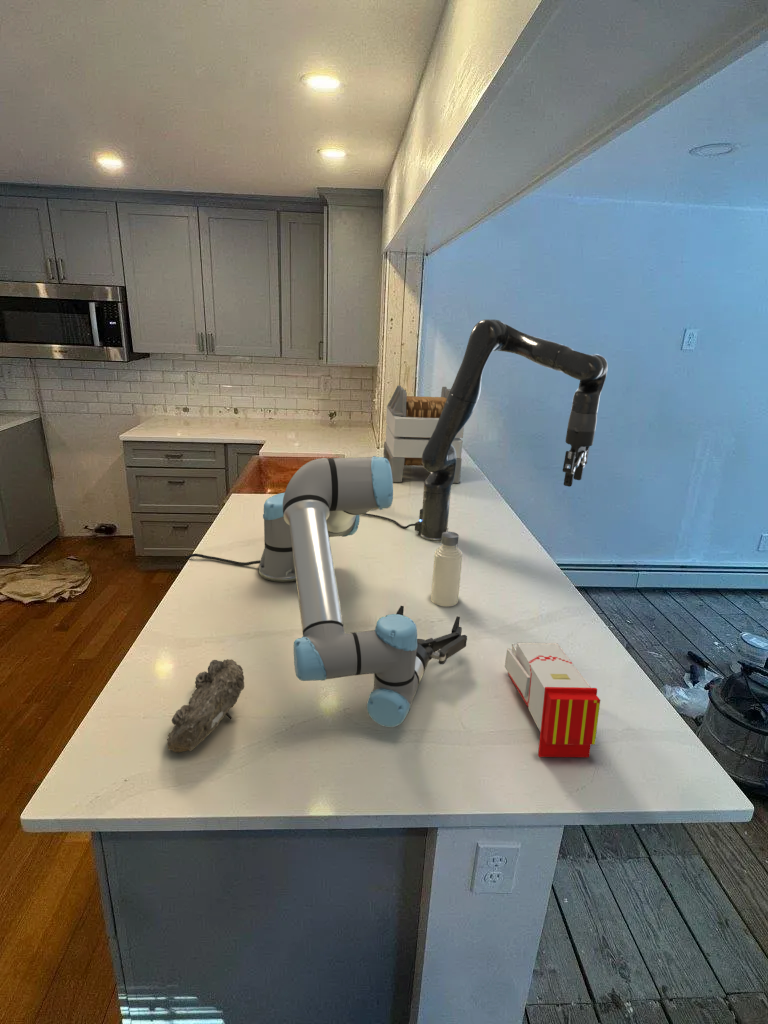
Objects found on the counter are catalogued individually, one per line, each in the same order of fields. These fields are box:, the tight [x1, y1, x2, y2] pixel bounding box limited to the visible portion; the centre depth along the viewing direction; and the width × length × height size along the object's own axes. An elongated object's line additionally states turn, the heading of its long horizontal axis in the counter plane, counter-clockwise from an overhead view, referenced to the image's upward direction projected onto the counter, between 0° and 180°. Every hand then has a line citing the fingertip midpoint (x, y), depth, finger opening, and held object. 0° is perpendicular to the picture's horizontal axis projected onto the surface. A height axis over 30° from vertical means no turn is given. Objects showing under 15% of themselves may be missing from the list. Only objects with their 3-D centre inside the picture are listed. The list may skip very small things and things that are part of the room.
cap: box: [440, 531, 460, 546], centre depth 150 cm, size 4×4×2 cm
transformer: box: [383, 384, 465, 484], centre depth 268 cm, size 34×33×41 cm
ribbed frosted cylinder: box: [430, 543, 464, 607], centre depth 153 cm, size 8×8×19 cm
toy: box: [504, 642, 601, 758], centre depth 113 cm, size 12×13×30 cm
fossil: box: [166, 658, 245, 754], centre depth 106 cm, size 22×10×15 cm
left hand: (429, 616), depth 135 cm, fingers open, 13 cm apart
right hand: (572, 482), depth 165 cm, fingers open, 8 cm apart
